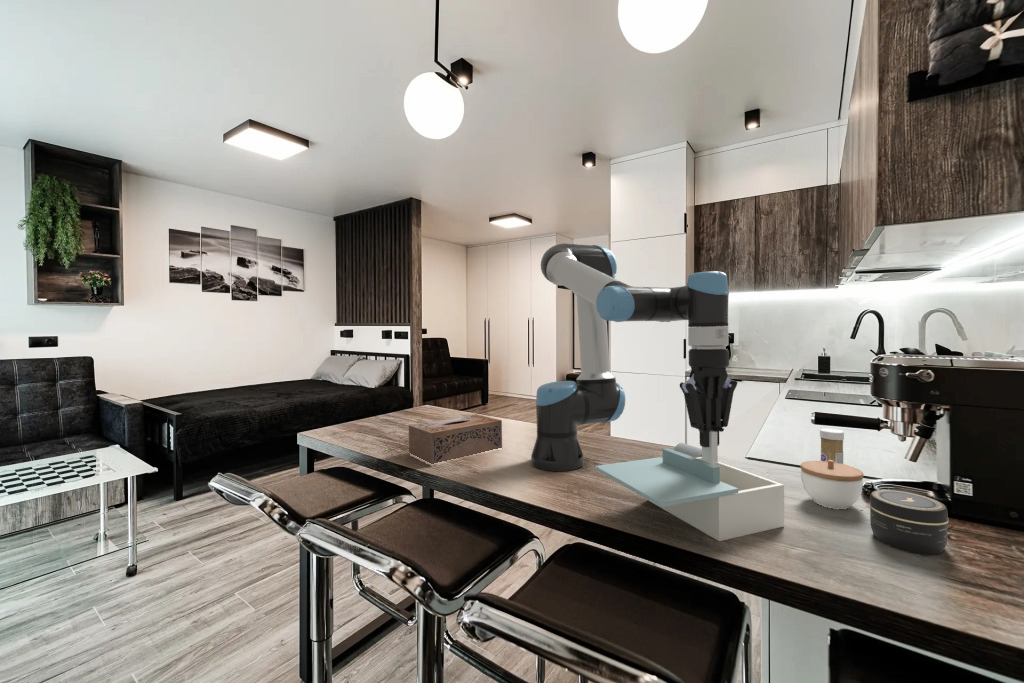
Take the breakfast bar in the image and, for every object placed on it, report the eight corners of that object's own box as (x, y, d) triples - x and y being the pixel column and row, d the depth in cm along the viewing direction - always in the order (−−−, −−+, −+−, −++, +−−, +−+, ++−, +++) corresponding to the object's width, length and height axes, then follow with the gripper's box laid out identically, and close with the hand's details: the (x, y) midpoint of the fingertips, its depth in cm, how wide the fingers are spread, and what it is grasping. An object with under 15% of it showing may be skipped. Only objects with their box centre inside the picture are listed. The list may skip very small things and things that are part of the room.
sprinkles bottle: (815, 483, 102) (815, 428, 102) (830, 481, 103) (829, 427, 103) (834, 490, 98) (833, 432, 97) (849, 488, 99) (848, 431, 98)
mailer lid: (595, 469, 90) (595, 452, 90) (660, 460, 95) (660, 443, 95) (660, 507, 70) (660, 484, 70) (738, 492, 75) (738, 471, 75)
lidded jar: (821, 491, 97) (821, 451, 97) (875, 509, 87) (875, 464, 87) (789, 498, 93) (789, 456, 93) (842, 518, 83) (842, 471, 83)
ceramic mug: (700, 482, 104) (700, 451, 104) (670, 473, 111) (670, 444, 111) (720, 473, 111) (720, 444, 111) (691, 466, 117) (691, 438, 117)
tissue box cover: (476, 442, 148) (476, 414, 148) (502, 450, 137) (501, 420, 136) (409, 457, 131) (408, 425, 131) (432, 467, 120) (431, 433, 120)
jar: (945, 540, 74) (945, 497, 74) (951, 564, 66) (951, 516, 66) (870, 524, 80) (870, 484, 80) (868, 544, 73) (868, 500, 73)
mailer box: (647, 500, 94) (647, 464, 93) (704, 490, 99) (704, 456, 99) (719, 541, 75) (718, 496, 75) (784, 526, 80) (784, 484, 80)
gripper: (695, 349, 80) (697, 471, 81) (748, 347, 84) (749, 463, 85) (669, 348, 88) (671, 460, 88) (719, 346, 92) (720, 454, 92)
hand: (709, 462), depth 86 cm, fingers closed
